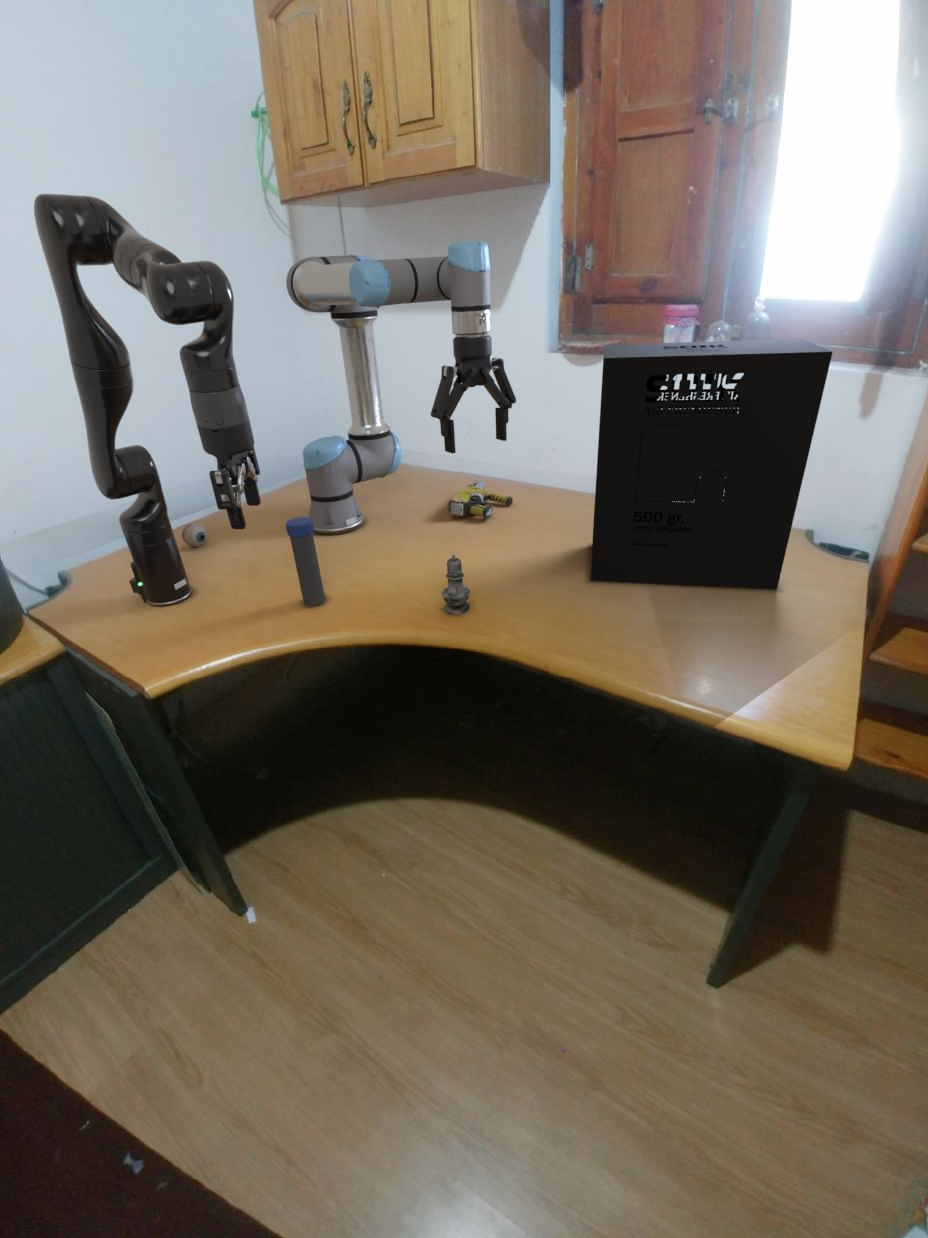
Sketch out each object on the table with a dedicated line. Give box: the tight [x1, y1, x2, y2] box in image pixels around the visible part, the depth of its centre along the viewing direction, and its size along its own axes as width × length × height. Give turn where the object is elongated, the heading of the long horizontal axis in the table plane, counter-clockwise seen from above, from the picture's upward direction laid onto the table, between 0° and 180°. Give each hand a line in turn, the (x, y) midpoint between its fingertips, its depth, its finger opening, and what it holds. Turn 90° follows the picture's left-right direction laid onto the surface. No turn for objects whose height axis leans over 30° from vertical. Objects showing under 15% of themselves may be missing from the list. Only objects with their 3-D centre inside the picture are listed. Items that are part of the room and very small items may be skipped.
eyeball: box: [181, 523, 208, 548], centre depth 159 cm, size 6×6×6 cm
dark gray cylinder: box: [289, 532, 326, 608], centre depth 126 cm, size 5×5×18 cm
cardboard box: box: [589, 338, 834, 590], centre depth 125 cm, size 38×20×45 cm, turn 78°
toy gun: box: [447, 479, 514, 521], centre depth 175 cm, size 5×24×15 cm
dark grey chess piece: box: [441, 553, 471, 615], centre depth 121 cm, size 6×6×12 cm
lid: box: [285, 516, 314, 537], centre depth 121 cm, size 5×5×2 cm
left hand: (247, 516), depth 99 cm, fingers open, 8 cm apart
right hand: (476, 445), depth 127 cm, fingers open, 13 cm apart
